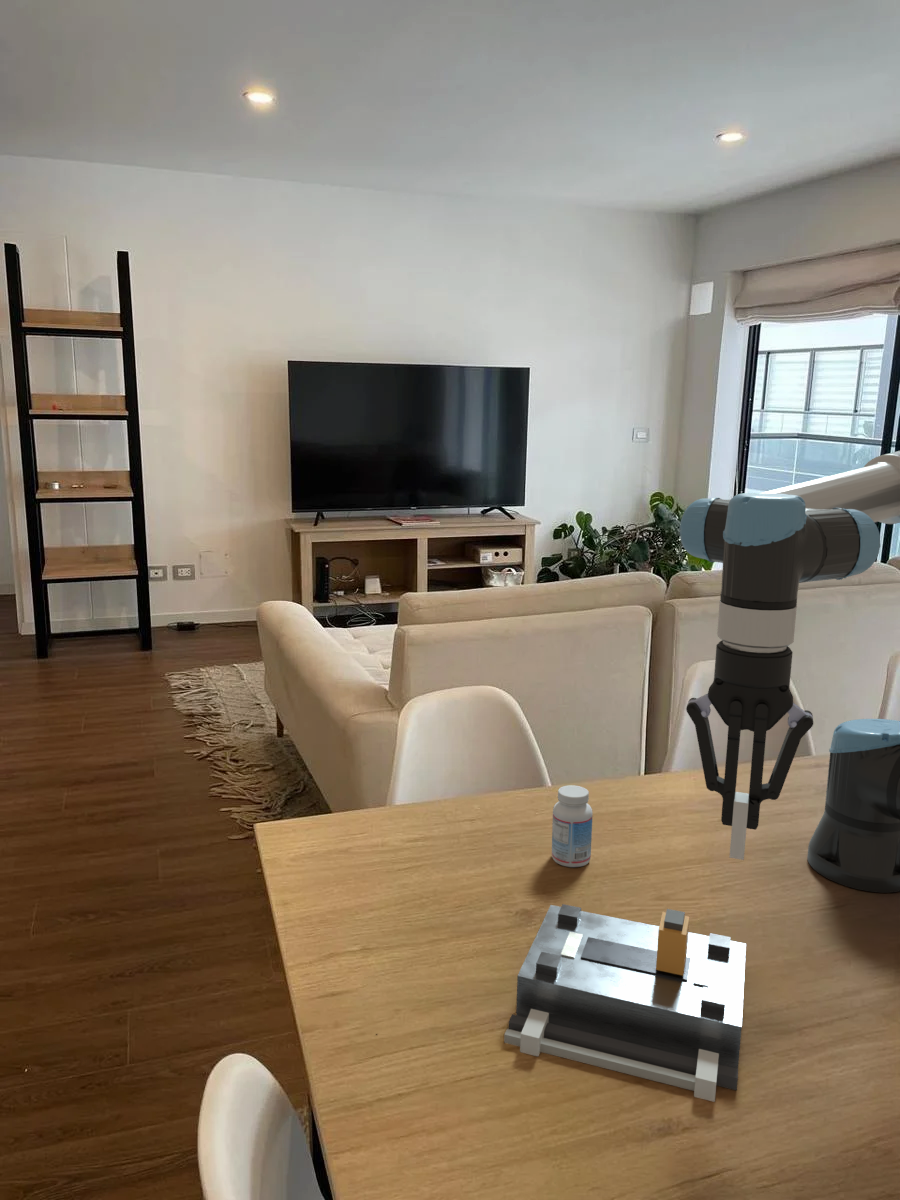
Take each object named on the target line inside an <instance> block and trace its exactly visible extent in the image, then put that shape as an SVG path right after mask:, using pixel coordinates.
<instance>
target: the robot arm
mask: <svg viewBox="0 0 900 1200" xmlns="http://www.w3.org/2000/svg"><path fill="white" fill-rule="evenodd" d="M878 522H879V523H882V524H887V525H894V524H895V525H896V524H899V523H900V450H898V451H894V452H890V453H885V454H882V455H878V456H876V457H874V458H872V459H870V460H869V461H867V462H866V464H865V465H864V466H863V467H859V468H856V469H851V470H848V471H844V472H839V473H837V474H832V475H828V476H824V477H820V478H819V477H818V478H816V479H812V480H808V481H804V482H799V483H796V484H791V485H787V486H784V487H783V486H782V487H778V488H776V489H772V490H771V489H770V490H768V491H764V492H759V493H757V492H745V493H739V494H738V493H737V494H736V495H734V496H732V497H731V499H722V498H720V497H716V496H715V497H713V498H709V497H708V498H704V497H703V498H700V499H699V498H698V499H696V500H694V501H693V502H692V503H690V504H688V507H687V508H686V509H685V510H684V512H683V514H682V516H681V520H680V523H679V538H680V543H681V545H682V547H683V548H684V550H685V552H687V553H688V554H689V555H691V556H693V557H694V558H697V559H703V560H707V561H708V562H709V563H722V570H721V571H722V572H721V573H722V574H721V590H720V599H719V605H718V616H717V617H718V618H717V630H716V631H717V633H716V634H717V638H719V639H720V641H719V642H718V643H717V644H716V646H715V647H716V648H715V660H714V661H715V662H714V675H713V682H712V683H711V685H710V686H709V687H708V691H707V693H705V694H704V695H701V696H700V697H698V698H696V697H691V698H689V700H688V703H687V705H686V708H685V711H686V713H687V714H688V716H689V718H690V719H691V721H692V723H693V725H694V726H695V733H696V737H697V742H698V743H697V745H698V747H699V748H698V749H699V753H700V760H701V764H702V765H701V767H702V770H703V774H704V780H705V781H704V782H705V786H706V789H707V790H708V791H711V792H716V793H718V794H719V795H720V796H721V798H722V804H721V805H722V807H721V815H720V816H721V820H720V821H721V824H722V825H724V826H729V827H731V834H730V843H729V844H730V846H729V858H730V859H734V860H735V859H737V860H741V861H744V860H745V849H746V838H747V829H750V830H757V828H758V827H759V821H760V812H761V811H760V809H761V805H762V804H761V803H762V802H763V801H766V800H773V801H774V800H775V801H776V800H777V799H779V797H780V794H781V793H782V790H783V786H784V784H785V782H786V778H787V776H788V773H789V771H790V769H791V766H792V763H793V761H794V758H795V755H796V753H797V750H798V747H799V745H800V742H801V740H802V738H803V737H804V736H805V734H807V733H808V732H809V730H810V729H812V727H814V716H813V713H812V712H811V711H810V710H805V709H803V708H801V707H800V706H799V705H797V704H796V703H794V696H793V694H792V692H791V688H790V685H791V674H792V673H791V672H792V664H793V663H792V662H793V654H794V653H793V652H794V651H792V650H791V648H790V646H791V645H792V644H793V643H794V641H795V631H796V629H795V628H796V619H797V610H798V609H797V608H798V606H797V605H798V593H799V585H800V584H801V583H809V582H810V583H811V582H818V581H819V582H820V581H828V580H836V581H837V580H838V581H839V580H841V581H842V580H843V579H847V578H849V577H853V576H856V575H860V574H862V573H864V572H866V571H867V570H869V569H870V568H871V567H872V566H873V564H874V563H875V562H876V560H877V558H878V556H879V555H880V554H879V553H880V548H881V534H880V531H879V528H878V526H877V524H876V523H878ZM711 706H713V708H714V709H715V711H716V712H717V714H718V716H719V717H720V719H721V720H722V722H723V723H724V724H725V725H726V726H727V727H728V728H727V742H726V754H725V755H726V756H725V767H724V777H721V776H720V775H719V769H718V762H717V758H716V753H715V747H714V742H713V736H712V730H711V725H710V721H709V716H710V714H711V711H712V709H711ZM786 714H788V717H787V725H788V726H789V727H788V729H787V730H786V731H787V732H786V735H785V736H784V739H783V742H782V745H781V747H780V751H779V753H778V755H777V759H776V761H775V764H774V766H773V769H772V770H771V771H772V772H771V774H770V777H769V780H768V782H767V783H763V775H764V763H765V751H766V742H767V741H766V740H767V731H770V730H772V729H773V727H774V726H775V725H776V724H778V722H780V720H781V719H782V718H783V717H785V715H786ZM741 731H750V732H753V740H752V750H751V765H750V766H751V767H750V776H749V777H750V778H749V791H748V793H747V792H740V791H737V790H736V789H737V780H738V779H737V777H738V766H739V755H740V744H741ZM832 733H833V734H832V737H831V739H832V740H831V743H830V748H829V749H828V750H829V751H828V752H829V760H828V771H827V783H826V791H825V792H826V794H825V804H824V811H823V815H822V816H821V818H820V819H819V822H818V824H817V826H816V828H815V830H814V833H813V834H812V836H811V838H810V840H809V842H808V848H807V857H806V858H807V862H808V864H809V865H810V867H811V868H812V869H813V870H814V871H816V872H817V873H818V874H819V875H821V876H823V877H824V878H826V879H828V880H830V881H831V882H834V883H837V884H839V885H843V886H845V887H849V888H850V889H851V888H852V889H856V890H860V891H864V892H872V893H884V894H885V893H896V892H897V893H899V892H900V720H895V719H887V718H860V719H851V720H846V721H844V722H841V723H839V724H838V725H837V726H836V727H835V728H834V731H833V732H832Z"/></svg>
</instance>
